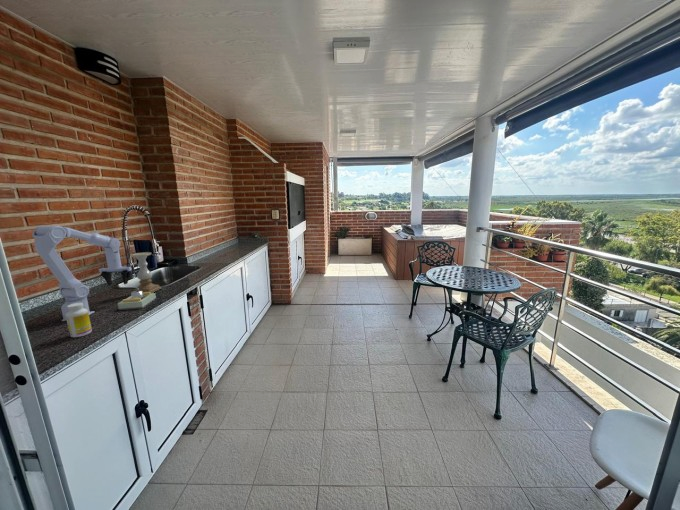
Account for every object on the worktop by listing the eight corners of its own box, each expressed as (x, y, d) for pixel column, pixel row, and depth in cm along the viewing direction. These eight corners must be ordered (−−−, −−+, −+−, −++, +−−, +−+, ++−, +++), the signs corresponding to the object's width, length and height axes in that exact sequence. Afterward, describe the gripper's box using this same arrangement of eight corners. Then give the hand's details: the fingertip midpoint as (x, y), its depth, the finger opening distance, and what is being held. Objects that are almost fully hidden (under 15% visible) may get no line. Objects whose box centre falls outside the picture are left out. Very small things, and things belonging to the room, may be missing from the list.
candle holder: (144, 289, 171) (138, 252, 167) (162, 289, 171) (156, 251, 167) (131, 295, 160) (124, 255, 156) (150, 295, 160) (143, 255, 156)
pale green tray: (142, 308, 140) (141, 299, 139) (118, 310, 138) (117, 301, 137) (156, 299, 153) (154, 290, 152) (134, 300, 151) (132, 292, 150)
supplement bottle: (96, 330, 116) (90, 301, 114) (82, 337, 109) (76, 307, 107) (80, 330, 116) (74, 302, 113) (65, 338, 109) (58, 308, 107)
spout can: (141, 303, 144) (139, 290, 142) (130, 304, 143) (128, 291, 141) (145, 300, 148) (143, 287, 147) (135, 301, 147) (133, 288, 146)
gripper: (132, 257, 151) (136, 281, 153) (103, 259, 148) (107, 283, 151) (125, 260, 144) (129, 285, 147) (94, 261, 142) (99, 287, 144)
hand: (118, 284), depth 148 cm, fingers open, 7 cm apart
